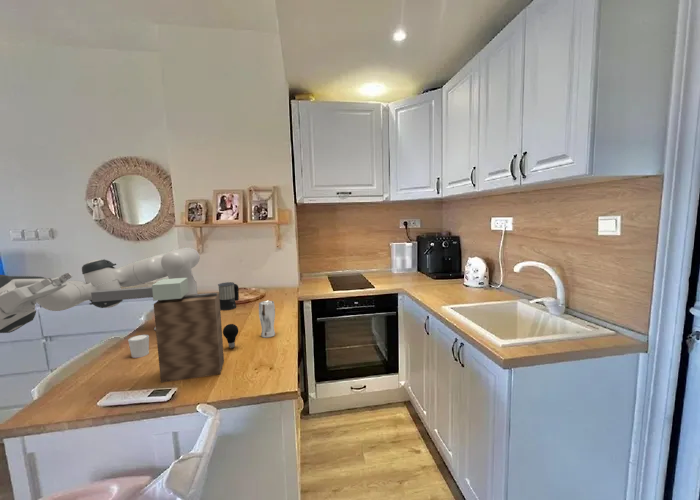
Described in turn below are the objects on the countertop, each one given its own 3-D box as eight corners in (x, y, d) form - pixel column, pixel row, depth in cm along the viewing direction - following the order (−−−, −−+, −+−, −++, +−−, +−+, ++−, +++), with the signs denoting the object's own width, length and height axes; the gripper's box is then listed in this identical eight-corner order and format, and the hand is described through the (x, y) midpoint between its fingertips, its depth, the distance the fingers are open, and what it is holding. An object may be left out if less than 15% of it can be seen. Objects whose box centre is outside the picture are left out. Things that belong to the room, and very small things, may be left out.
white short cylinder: (136, 351, 128) (134, 334, 127) (154, 350, 128) (152, 333, 128) (125, 359, 121) (123, 341, 120) (144, 357, 122) (142, 340, 121)
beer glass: (272, 338, 138) (270, 305, 136) (257, 337, 139) (255, 304, 137) (278, 332, 144) (277, 300, 143) (264, 332, 146) (262, 300, 144)
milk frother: (232, 310, 183) (230, 285, 181) (205, 311, 183) (203, 285, 182) (241, 303, 197) (239, 280, 195) (216, 304, 197) (214, 280, 196)
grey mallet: (86, 306, 95) (84, 290, 95) (102, 298, 105) (100, 283, 104) (181, 298, 102) (180, 283, 101) (188, 291, 111) (187, 277, 111)
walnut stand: (160, 382, 102) (153, 301, 100) (169, 368, 112) (163, 294, 109) (220, 374, 107) (214, 296, 104) (224, 361, 117) (218, 290, 114)
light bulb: (230, 352, 125) (228, 327, 124) (221, 349, 128) (219, 325, 127) (242, 346, 129) (240, 323, 128) (233, 344, 133) (231, 321, 132)
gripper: (45, 302, 105) (86, 279, 108) (-5, 321, 86) (46, 293, 88) (32, 287, 104) (73, 264, 106) (-23, 303, 84) (29, 274, 87)
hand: (60, 277), depth 97 cm, fingers open, 8 cm apart
